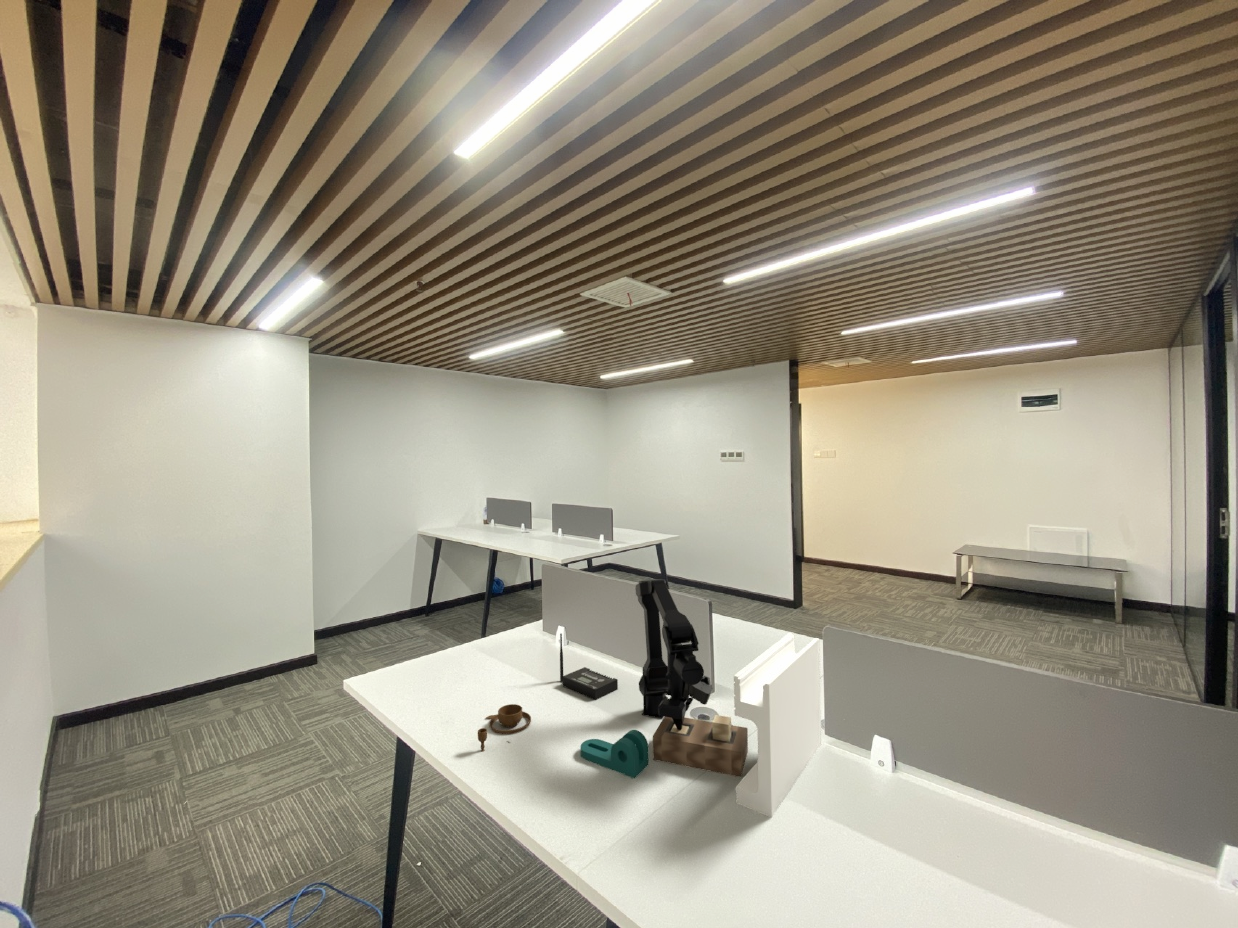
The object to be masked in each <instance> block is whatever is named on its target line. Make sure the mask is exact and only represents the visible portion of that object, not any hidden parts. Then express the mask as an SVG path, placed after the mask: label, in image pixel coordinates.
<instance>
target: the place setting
mask: <svg viewBox="0 0 1238 928" xmlns="http://www.w3.org/2000/svg"><path fill="white" fill-rule="evenodd" d="M522 718H525V719H526V720H527V721H528V722H527V723H526V724H524V725H522V726H521V727H518V728H514V729H505V730H504V729H498V728H495V727H494V726H493V725H494V724H495V723H496V722H497V721H498V723H499V724H501V725H503V727H505V728H513V727H516V726H517V725H518V724H519V723H520V722H521V721H522ZM485 719H486V720H489V723H488V724H489V728H490V730H491V731H492V732H494V733H496V734H499V735H511V734H512V735H513V734H517V733H520V732H522V731H524V730H526V729H527V728H528V727H529V726H530V725H531V722H532V716H531V715H530V714H529V713H527V712H525V711H523V707H522V706H521V705H519V704H517V703H512V704H506V705H503V706H501V707H500V708H498V711H497V714H492V715H487V716H486V717H485ZM487 738H488V728H486V727H482V728H479V729H478V730H477V740H478V741H479V742H480V743H481V744H480V752H482V753H483V752H485V747H486V746H485V742H486V741H487ZM506 743H508V744H511V742H510V741H509V740H507V741H506Z"/></svg>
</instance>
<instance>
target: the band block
mask: <svg viewBox="0 0 1238 928" xmlns="http://www.w3.org/2000/svg"><path fill="white" fill-rule="evenodd" d="M712 722H713V721H708V720H704V719H703V720H701V719H696V718H689V717H684V722H683V726H688V727H689V731H688V733H687V734H681V733H676V732H670V731H671V729H672V728H673V726H674V724H675V723H674V721H673V719H672V718H670V717H664V716H663V718H662V720H661V722H659V725H658V726H657V729H656V730H655V731H654V733H653V734H652V760H653V761H656V762H662V763H668V764H673V765H677V766H678V765H679V766H683V767H688V768H693V769H697V770H703V771H707V772H713V773H718V774H724V775H727V776H732V777H733V776H734V777H736V778H737V777H738V778H743V777H742V776H743V773H744V770H745V769H744V768H745V765H746V760H747V757H748V753H749V742H748V741H749V740H748V736H749V735H748V730H749V729H748V727H744V726H739V725H732V724H731V737H732V738H731V741H730V742H727V741H721V740H715V739H713V725H712Z"/></svg>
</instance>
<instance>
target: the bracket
mask: <svg viewBox="0 0 1238 928" xmlns="http://www.w3.org/2000/svg"><path fill="white" fill-rule="evenodd" d="M649 755H650V754H649V742H648V740H647V738H646V736H645V735H644V734H643V732H641V731H639V730H638V729H630V730H629V731H628V732H627V733H625V734H624V735H623V736H622V737H621V738H619V739H618V740H617V741H616V742H614V743H611V742H608V741H606V740H603V739H598V738H591V739H587V740H584V741H583V742H582V743H580V757H581V758H582V759H583V760H584V761H588V762H590V763H593V764H595V765H598V766H601V767H603V768H606V769H607V770H608V769H609V770H611V771H613V772H617V773H619V774H622V775H624V776H625V777H626V776H627V777H630V778H631V779H636V778H637V777H638V776H639V775H640V774H641V773H642V772H643V771H644V770H645V769H646V768H648V766H649V765H650V762H649V761H650V756H649Z"/></svg>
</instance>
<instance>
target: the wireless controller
mask: <svg viewBox="0 0 1238 928" xmlns="http://www.w3.org/2000/svg"><path fill="white" fill-rule="evenodd" d="M559 636H560V637H559V638H560V639H559V641H560V643H559V645H560V646H559V678H560V679H559V681H560V682H561V683H562V687H563V688H566V689H569V690H570V691H573V692H575V693H578V694H580V695H583V696H584V697H587V698H588V699H591V700H593V701H597V700H599V699H602V698H603V697H605V696H608V695H609V694H612V693H614V692H615V691H618V690H619V684H618V683H619V682H618V681H619V680H618V678H615V677H613V678H612V677H610V676H608V675H606V674H605V675H604V674H602V673H600V672H598V671H594V670H592V669H591V668H588V667H585V666H584V667H582V668H580V669H577V670H575V671H572V672H569V673H567V674H565V675H564V653H563V652H564V651H563V637H562V636H563V634H562V633H561V632H560V634H559Z"/></svg>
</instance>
